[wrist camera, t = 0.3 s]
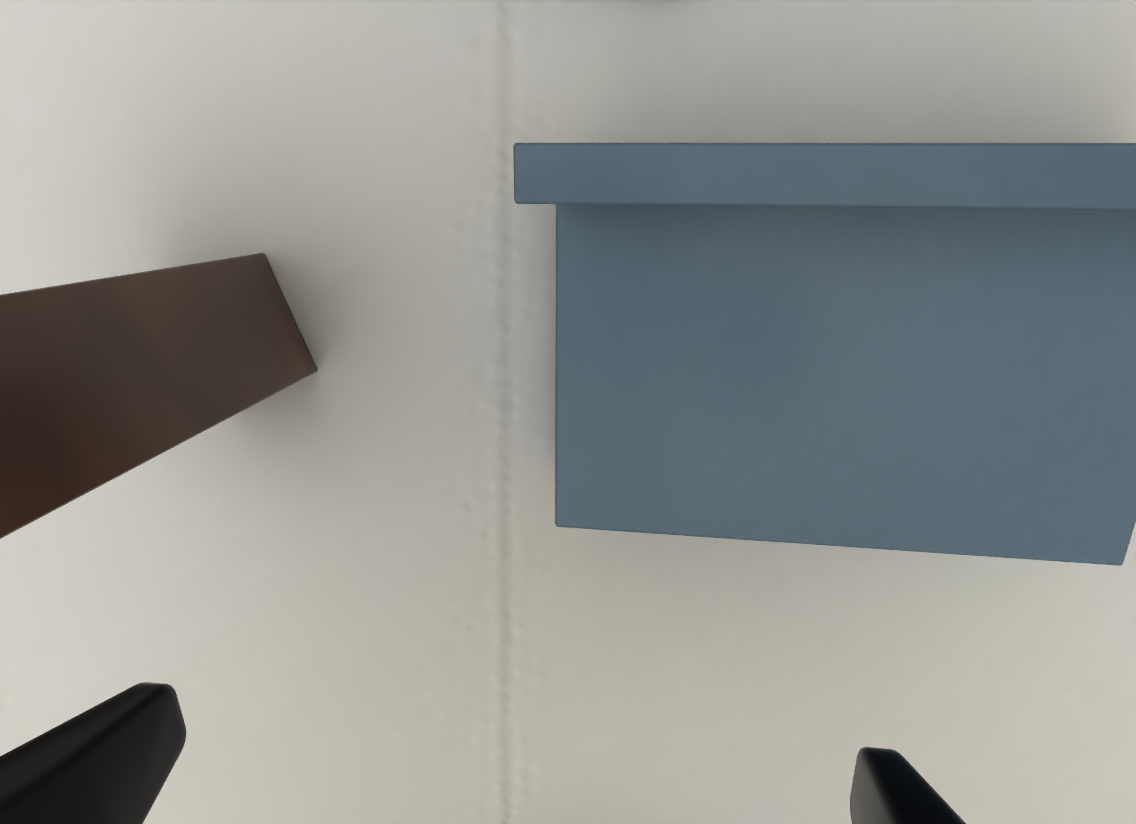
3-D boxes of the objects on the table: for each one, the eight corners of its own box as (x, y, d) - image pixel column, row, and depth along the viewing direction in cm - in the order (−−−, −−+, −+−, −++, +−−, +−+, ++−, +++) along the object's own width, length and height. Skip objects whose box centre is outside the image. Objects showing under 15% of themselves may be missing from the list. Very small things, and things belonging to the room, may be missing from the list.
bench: (1042, 500, 21) (1292, 704, 13) (572, 472, 23) (520, 636, 15) (1126, 164, 18) (1527, 143, 10) (575, 162, 20) (512, 142, 12)
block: (318, 370, 23) (-32, 556, 12) (217, 405, 24) (-202, 609, 12) (263, 252, 22) (-184, 323, 10) (161, 293, 23) (-356, 400, 11)
